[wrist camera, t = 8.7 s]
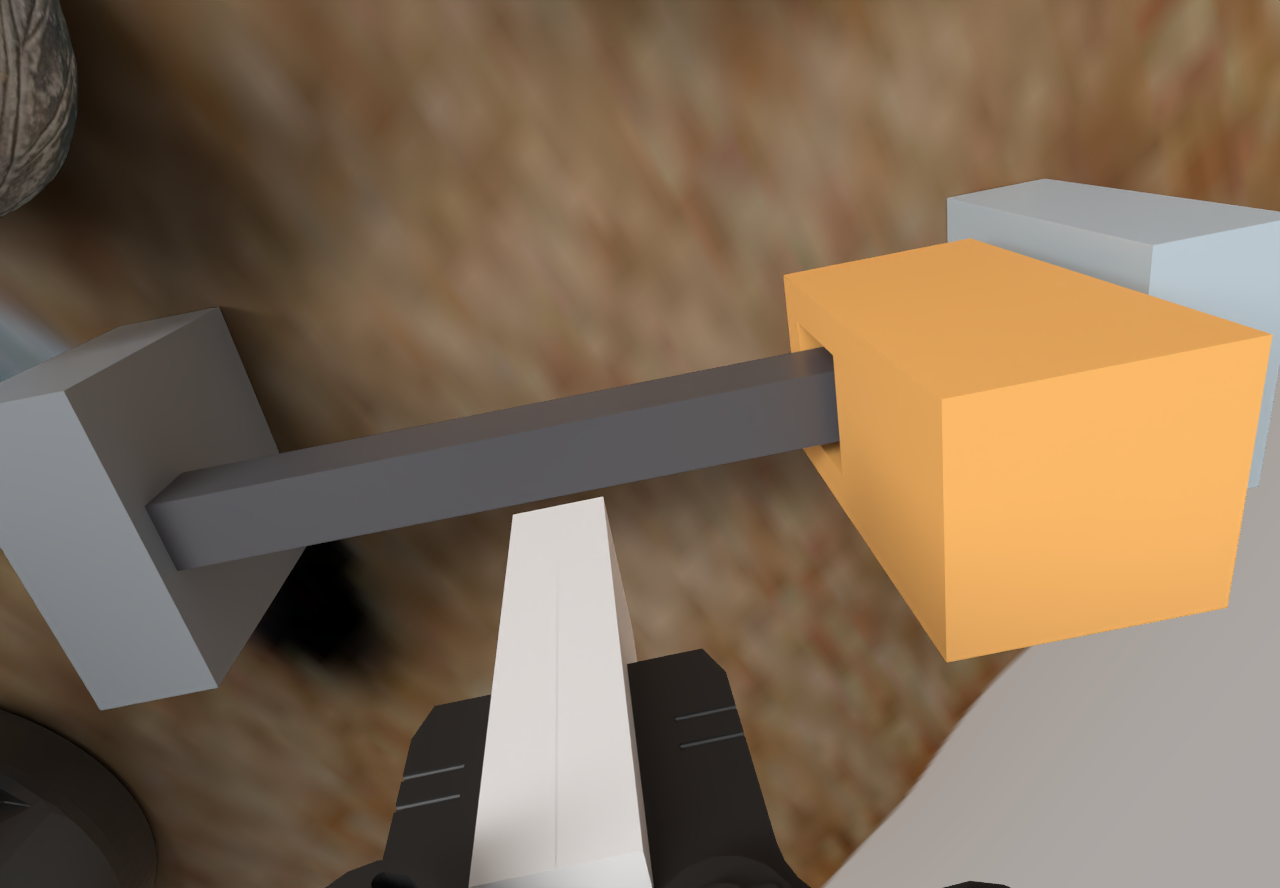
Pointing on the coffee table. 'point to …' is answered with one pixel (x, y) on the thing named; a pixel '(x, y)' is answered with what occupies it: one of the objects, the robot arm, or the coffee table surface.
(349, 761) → the coffee table surface
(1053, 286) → the orange sliding sleeve
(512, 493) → the rail rig
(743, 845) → the robot arm
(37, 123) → the mug
